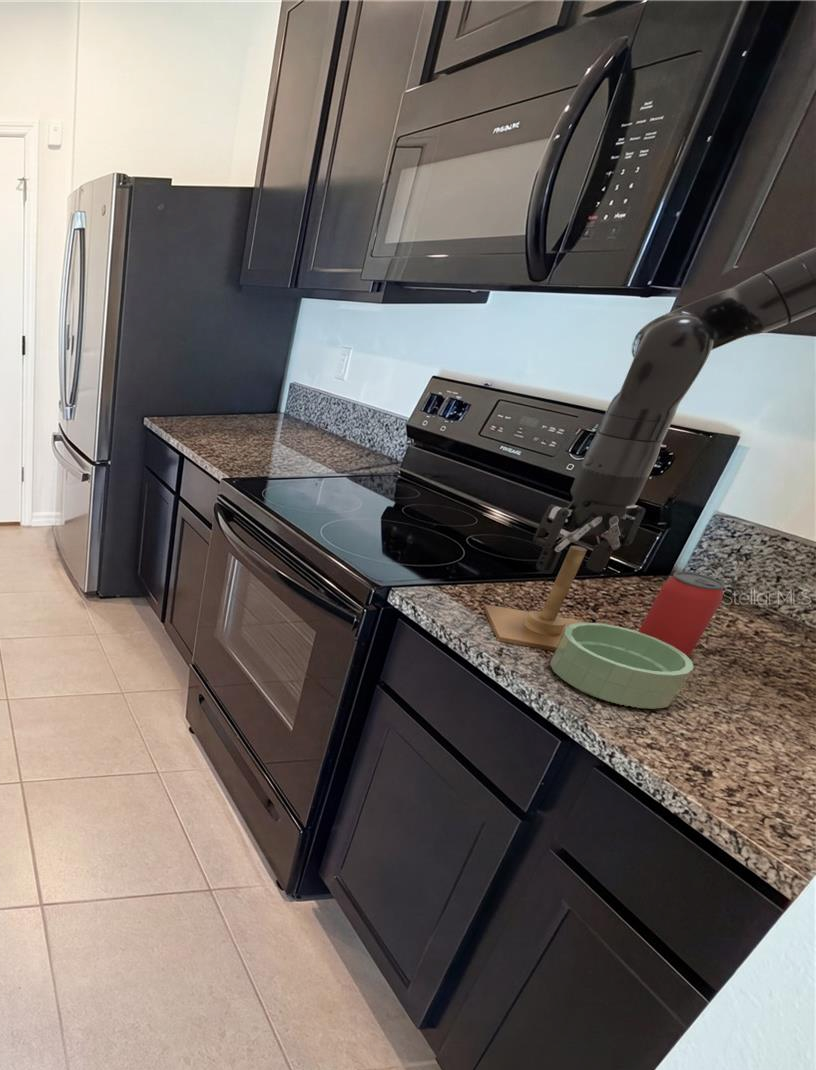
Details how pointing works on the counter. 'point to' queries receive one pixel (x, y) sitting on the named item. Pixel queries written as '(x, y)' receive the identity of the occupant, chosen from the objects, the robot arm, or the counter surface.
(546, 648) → the plate
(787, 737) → the counter surface
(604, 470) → the robot arm
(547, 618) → the muddler
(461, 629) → the counter surface
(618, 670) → the bowl
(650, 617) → the beer can
